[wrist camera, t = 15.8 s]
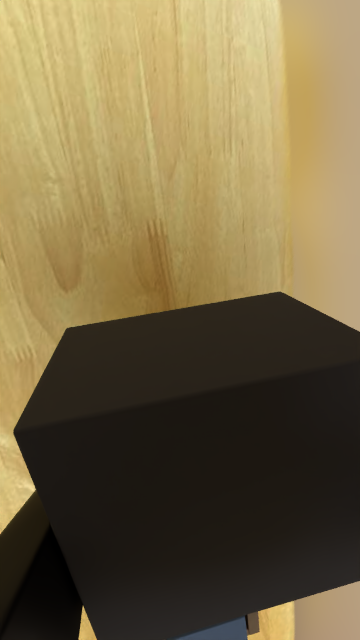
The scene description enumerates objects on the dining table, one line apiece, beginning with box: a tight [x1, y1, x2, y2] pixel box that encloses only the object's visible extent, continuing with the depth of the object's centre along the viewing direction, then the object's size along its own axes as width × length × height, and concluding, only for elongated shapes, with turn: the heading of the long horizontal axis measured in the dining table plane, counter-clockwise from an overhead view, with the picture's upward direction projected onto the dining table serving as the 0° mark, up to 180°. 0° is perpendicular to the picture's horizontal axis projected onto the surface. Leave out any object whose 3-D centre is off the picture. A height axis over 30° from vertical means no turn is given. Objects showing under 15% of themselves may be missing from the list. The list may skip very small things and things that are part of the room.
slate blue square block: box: [167, 615, 248, 640], centre depth 25 cm, size 6×6×4 cm
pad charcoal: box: [13, 292, 360, 640], centre depth 7 cm, size 6×6×4 cm
